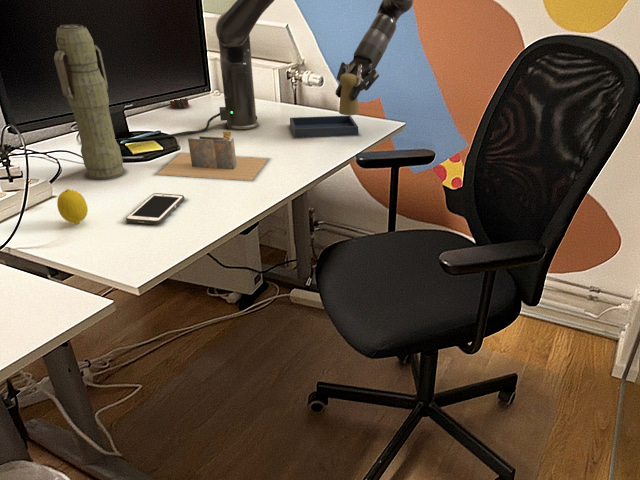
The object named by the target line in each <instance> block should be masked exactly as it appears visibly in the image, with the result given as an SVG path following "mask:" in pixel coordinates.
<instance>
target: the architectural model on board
mask: <svg viewBox="0 0 640 480" xmlns="http://www.w3.org/2000/svg"><path fill="white" fill-rule="evenodd" d="M222 134H223V136H222V137H219V136H218V137H217V136H203V135H199V137H198V138H194V136H193V135H191V136H189V137H188V138H187V142H188V148H189V153H179V154H178V155H177V156H176V157H175V158H173V160H172V161H170V162H169V163H168V164H167V165H166V166H164V168H162V169H161V170H160V171H159V172H158V173H157V175H159V176H177V177H189V178H191V177H192V178H206V179H208V178H209V179H222V180H223V179H225V180H238V181H253V180H254V179H255V177H256V176H257V174H258V173H259V172H260V170H261V169H262V168H263V167H264V165H265V164H266V162H268V158H261V157H260V158H258V157H244V156H236V155H237V154H236V147H235V139H234V138H233V137H232V135H233V130H231V131H228V130H226V129H224V131H222Z"/></svg>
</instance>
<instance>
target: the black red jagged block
mask: <svg viewBox="0 0 640 480" xmlns="http://www.w3.org/2000/svg"><path fill="white" fill-rule="evenodd" d="M169 104H170V108H171V109H173V110H184V109H188V108H189V107H190V104H189V98H185V99H180V100H174V101H170V100H169Z"/></svg>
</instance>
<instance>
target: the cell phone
mask: <svg viewBox="0 0 640 480" xmlns="http://www.w3.org/2000/svg"><path fill="white" fill-rule="evenodd" d="M184 200H185V196H184V194H176V193H175V194H173V193H162V192H160V193H159V192H155V193H152V194H150V195H149V196H148V197H147V198H146V199H145V200H144V201H143V202H142V203H140V204H139V205H138V206H137V207H136V208H135V209H133V210H132V211H131V212H130V213H129V214H128V215H127V216H126V217H125V221H126V222H127V223H133V224H144V225H145V224H146V225H160V224H161V223H162V222H163V221H165V219H166V218H168V216H169V215H170V214H171V213H172V212H173V211H175V209H176V208H177V207H178V206H179V205H180V204H182V202H184Z"/></svg>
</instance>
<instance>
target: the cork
mask: <svg viewBox="0 0 640 480" xmlns="http://www.w3.org/2000/svg"><path fill="white" fill-rule="evenodd" d="M356 82H357V78H356V75H354V74H343V75H341V77H340V82H339V84H341V86H342V88H341V97H340V99H339V100H340V101H339V108H338V114H340V115H341V116H357V115H359V114H360V109H359V101H358V97H357V98H356V99H355V100H354V101H351V100H350V99H349V95H350V93H351V91H352V89H353V87H354V86H355V87H356Z"/></svg>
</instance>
